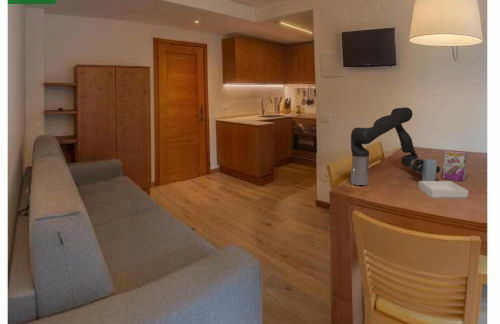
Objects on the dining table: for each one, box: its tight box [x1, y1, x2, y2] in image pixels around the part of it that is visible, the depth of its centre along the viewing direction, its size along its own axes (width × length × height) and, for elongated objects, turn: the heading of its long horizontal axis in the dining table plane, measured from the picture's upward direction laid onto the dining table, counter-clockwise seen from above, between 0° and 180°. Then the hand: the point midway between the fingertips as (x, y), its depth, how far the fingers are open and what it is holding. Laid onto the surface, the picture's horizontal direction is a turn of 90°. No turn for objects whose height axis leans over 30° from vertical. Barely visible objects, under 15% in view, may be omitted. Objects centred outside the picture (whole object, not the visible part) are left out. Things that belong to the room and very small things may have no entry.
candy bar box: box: [441, 150, 469, 182], centre depth 184 cm, size 11×5×16 cm, turn 41°
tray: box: [418, 180, 469, 200], centre depth 161 cm, size 16×18×4 cm
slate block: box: [421, 158, 438, 181], centre depth 177 cm, size 5×5×14 cm
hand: (430, 171), depth 175 cm, fingers open, 8 cm apart
